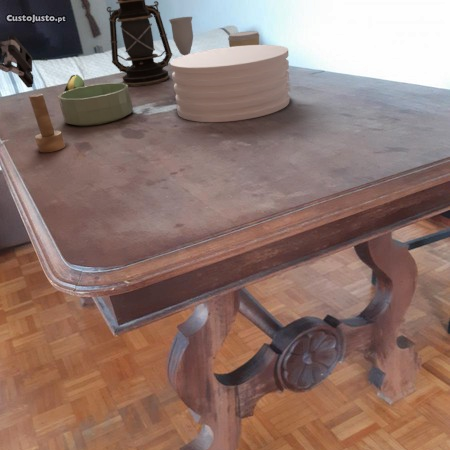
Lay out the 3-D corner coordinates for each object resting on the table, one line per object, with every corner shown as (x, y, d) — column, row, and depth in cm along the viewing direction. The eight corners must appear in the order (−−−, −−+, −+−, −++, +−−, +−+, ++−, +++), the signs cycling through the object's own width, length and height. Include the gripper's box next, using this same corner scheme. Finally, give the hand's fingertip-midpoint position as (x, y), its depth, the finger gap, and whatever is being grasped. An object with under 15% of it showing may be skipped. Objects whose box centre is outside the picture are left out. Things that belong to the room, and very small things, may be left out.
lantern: (114, 89, 153) (89, -23, 136) (118, 80, 166) (96, -23, 148) (176, 81, 153) (159, -31, 136) (175, 73, 166) (160, -31, 149)
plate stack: (200, 94, 133) (194, 49, 127) (299, 90, 125) (298, 41, 118) (159, 123, 112) (150, 70, 105) (275, 121, 103) (273, 63, 97)
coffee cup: (236, 74, 152) (233, 32, 145) (264, 73, 149) (262, 30, 142) (227, 81, 145) (223, 36, 138) (257, 79, 142) (254, 34, 135)
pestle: (37, 154, 102) (19, 100, 95) (41, 146, 106) (24, 94, 100) (63, 150, 102) (47, 96, 96) (66, 142, 106) (51, 90, 100)
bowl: (61, 131, 116) (53, 103, 112) (69, 114, 130) (62, 88, 126) (133, 120, 117) (127, 92, 113) (133, 104, 131) (128, 79, 127)
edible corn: (87, 87, 161) (83, 72, 159) (80, 99, 145) (76, 83, 142) (71, 89, 161) (67, 74, 158) (64, 101, 145) (59, 86, 142)
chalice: (177, 86, 147) (167, 19, 136) (199, 82, 147) (190, 16, 137) (180, 90, 141) (169, 21, 130) (202, 87, 141) (194, 17, 131)
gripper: (-5, -8, 71) (45, 63, 87) (-94, 3, 72) (-29, 71, 88) (-6, 36, 70) (45, 100, 86) (-97, 47, 71) (-30, 108, 87)
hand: (8, 85), depth 87 cm, fingers open, 8 cm apart
